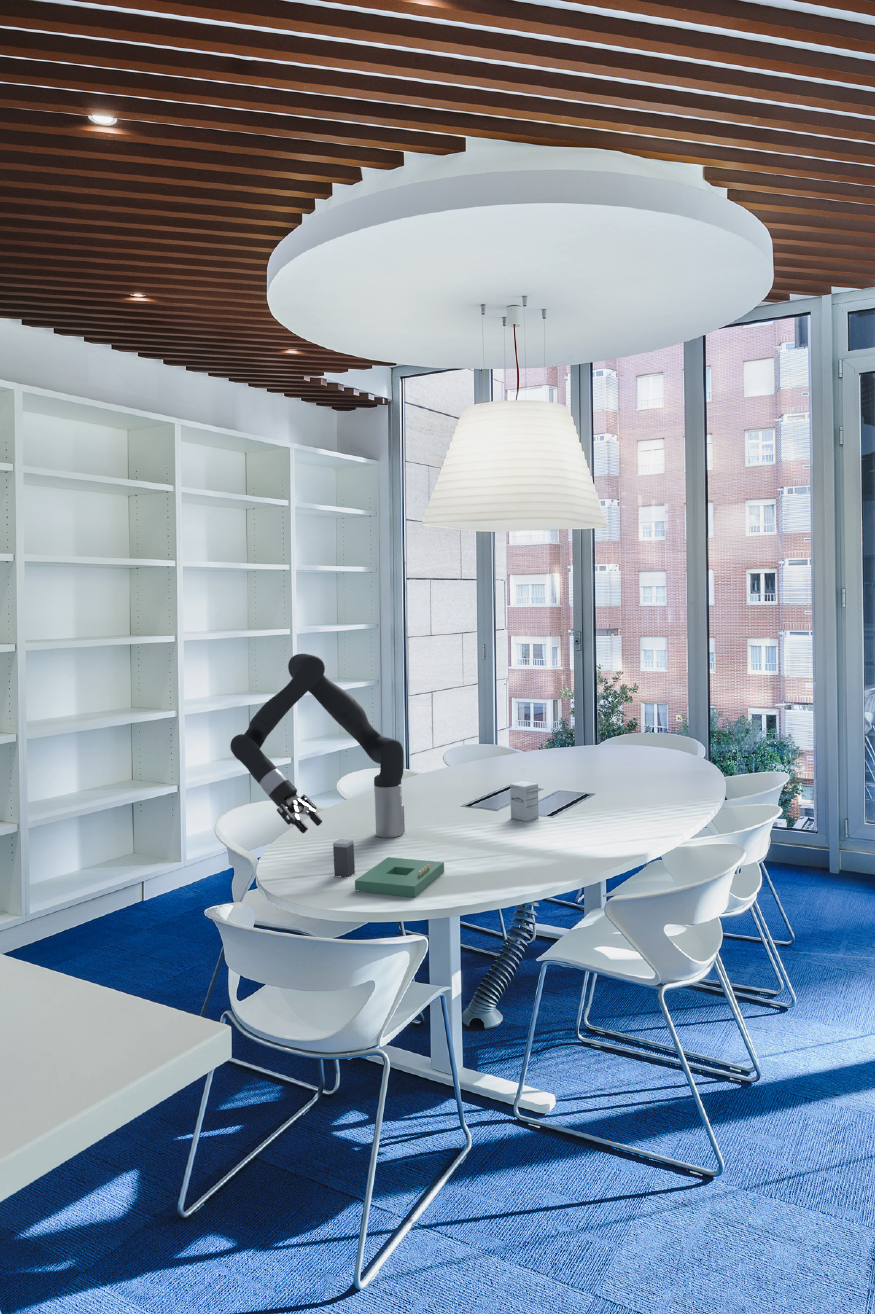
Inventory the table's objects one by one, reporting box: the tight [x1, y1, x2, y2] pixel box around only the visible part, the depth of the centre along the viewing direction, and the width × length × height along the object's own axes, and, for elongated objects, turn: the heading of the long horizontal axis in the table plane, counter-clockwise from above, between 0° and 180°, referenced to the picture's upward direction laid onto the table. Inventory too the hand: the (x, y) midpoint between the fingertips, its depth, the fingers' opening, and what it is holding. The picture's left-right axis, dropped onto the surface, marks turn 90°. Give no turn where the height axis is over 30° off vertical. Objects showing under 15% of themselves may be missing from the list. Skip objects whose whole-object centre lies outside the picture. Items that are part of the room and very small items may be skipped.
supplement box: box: [509, 780, 540, 822], centre depth 314 cm, size 7×7×13 cm
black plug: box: [332, 838, 356, 878], centre depth 257 cm, size 4×4×10 cm
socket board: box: [354, 857, 445, 898], centre depth 250 cm, size 22×18×4 cm
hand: (313, 827), depth 260 cm, fingers open, 8 cm apart
